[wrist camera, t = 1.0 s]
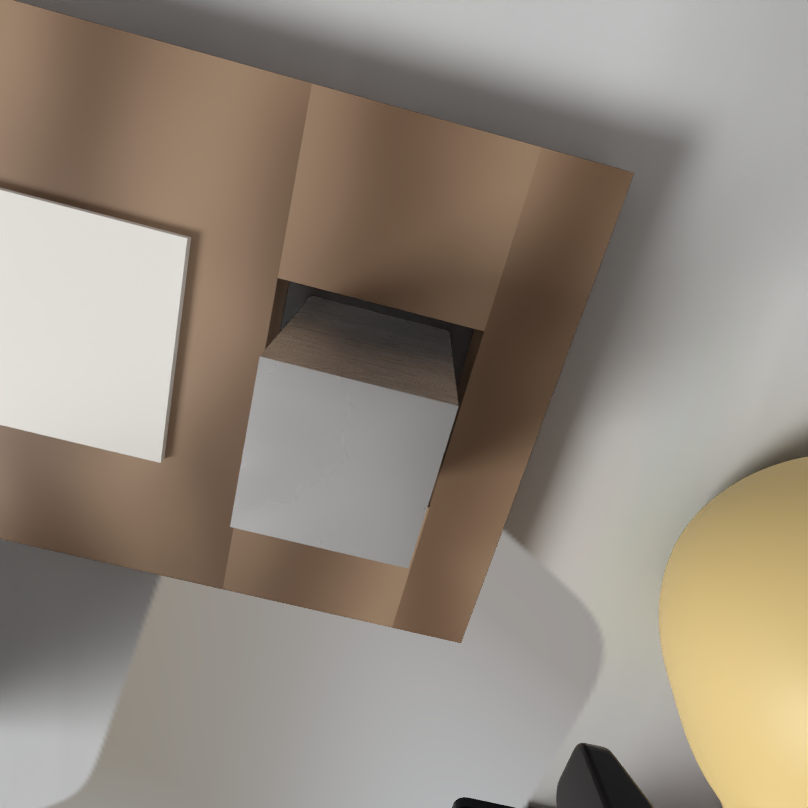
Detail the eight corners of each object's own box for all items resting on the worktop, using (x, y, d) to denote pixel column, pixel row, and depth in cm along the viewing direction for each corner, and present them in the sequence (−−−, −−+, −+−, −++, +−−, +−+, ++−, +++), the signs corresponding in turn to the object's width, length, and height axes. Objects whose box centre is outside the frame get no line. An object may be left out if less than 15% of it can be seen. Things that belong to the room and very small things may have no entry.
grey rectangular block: (449, 330, 20) (458, 406, 14) (413, 453, 21) (408, 568, 15) (311, 295, 20) (259, 356, 14) (286, 422, 21) (230, 526, 15)
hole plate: (612, 171, 18) (637, 173, 16) (458, 605, 24) (461, 649, 22) (-94, -25, 17) (-170, -52, 15) (-74, 482, 22) (-126, 516, 20)
